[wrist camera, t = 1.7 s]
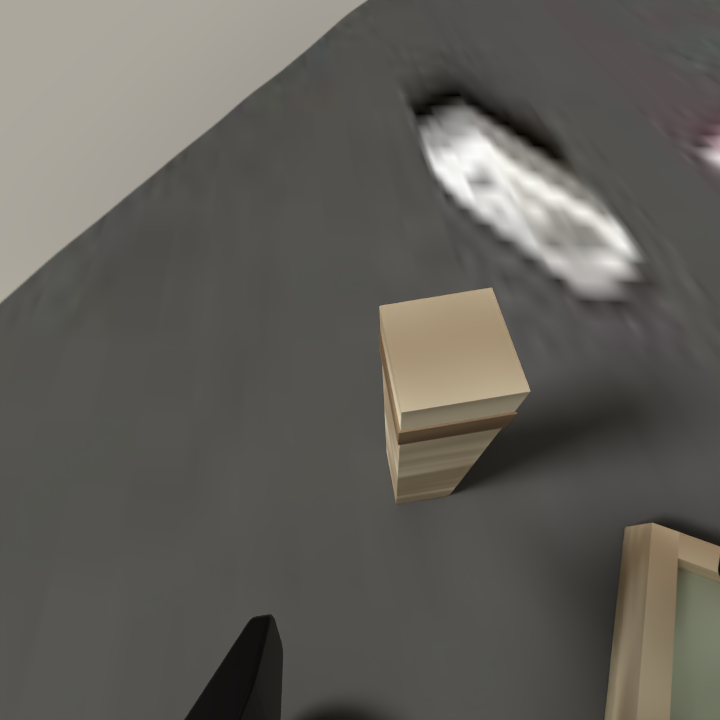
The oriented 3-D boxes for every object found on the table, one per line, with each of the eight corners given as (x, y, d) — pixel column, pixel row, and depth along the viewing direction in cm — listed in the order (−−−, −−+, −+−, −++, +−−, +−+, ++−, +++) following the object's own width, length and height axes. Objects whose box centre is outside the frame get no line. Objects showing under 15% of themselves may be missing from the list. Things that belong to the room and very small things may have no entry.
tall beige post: (450, 496, 20) (533, 393, 8) (395, 505, 20) (399, 415, 8) (437, 442, 21) (493, 285, 9) (385, 450, 21) (377, 304, 9)
